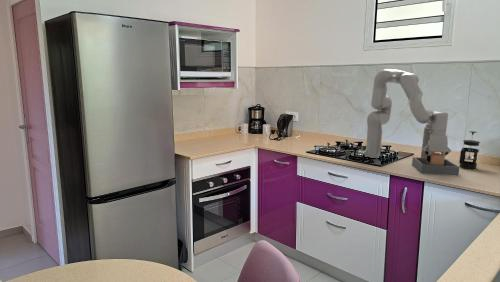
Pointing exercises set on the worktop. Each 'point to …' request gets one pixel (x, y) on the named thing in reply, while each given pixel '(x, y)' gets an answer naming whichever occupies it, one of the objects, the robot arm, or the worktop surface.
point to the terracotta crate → (436, 159)
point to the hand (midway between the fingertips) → (435, 162)
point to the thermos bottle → (426, 138)
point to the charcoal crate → (435, 167)
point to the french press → (462, 161)
